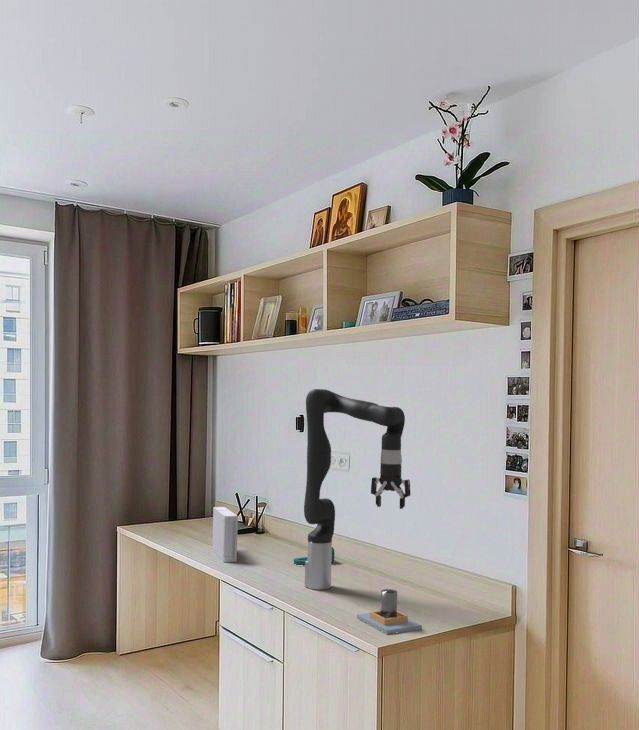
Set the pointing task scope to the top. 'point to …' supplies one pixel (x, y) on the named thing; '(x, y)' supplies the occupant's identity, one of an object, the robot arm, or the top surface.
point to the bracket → (302, 560)
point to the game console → (225, 534)
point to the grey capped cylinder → (388, 603)
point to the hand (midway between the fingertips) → (390, 507)
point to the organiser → (389, 622)
